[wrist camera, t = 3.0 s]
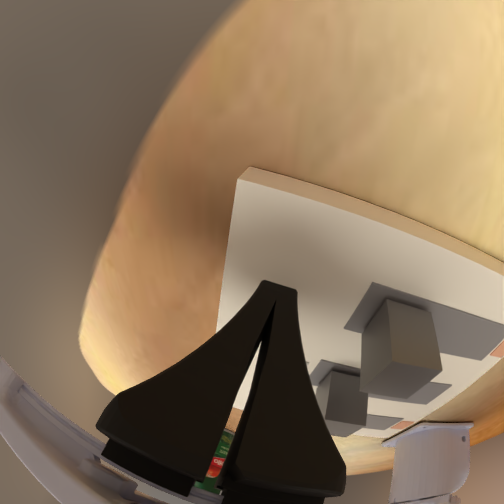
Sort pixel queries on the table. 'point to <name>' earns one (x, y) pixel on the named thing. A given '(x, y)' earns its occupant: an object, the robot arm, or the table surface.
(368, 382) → the dark grey block
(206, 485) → the canned tomato
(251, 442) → the robot arm
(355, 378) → the gray rectangular block
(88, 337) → the table surface
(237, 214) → the switch panel
